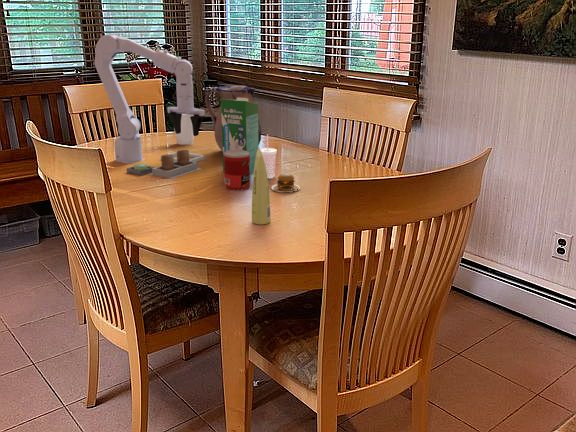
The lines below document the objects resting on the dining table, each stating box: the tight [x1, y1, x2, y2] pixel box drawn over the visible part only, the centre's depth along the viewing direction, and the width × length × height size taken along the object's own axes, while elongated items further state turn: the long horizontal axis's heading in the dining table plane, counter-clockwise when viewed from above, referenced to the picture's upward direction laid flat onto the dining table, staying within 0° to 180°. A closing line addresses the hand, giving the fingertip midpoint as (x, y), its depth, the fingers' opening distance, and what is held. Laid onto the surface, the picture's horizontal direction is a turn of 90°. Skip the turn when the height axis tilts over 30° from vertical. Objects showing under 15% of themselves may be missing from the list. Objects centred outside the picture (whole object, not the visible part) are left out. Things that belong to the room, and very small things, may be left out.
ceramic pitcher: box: [204, 85, 262, 152], centre depth 217 cm, size 18×21×25 cm
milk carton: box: [220, 98, 260, 175], centre depth 192 cm, size 9×9×25 cm
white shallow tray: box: [170, 151, 207, 163], centre depth 208 cm, size 13×10×2 cm
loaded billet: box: [160, 153, 175, 171], centre depth 189 cm, size 4×4×6 cm
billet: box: [176, 149, 190, 166], centre depth 195 cm, size 4×4×6 cm
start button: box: [133, 163, 149, 171], centre depth 191 cm, size 4×4×3 cm
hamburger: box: [270, 172, 301, 193], centre depth 178 cm, size 12×12×6 cm
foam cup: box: [173, 112, 195, 146], centre depth 233 cm, size 10×9×13 cm
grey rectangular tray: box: [149, 161, 202, 180], centre depth 193 cm, size 10×15×3 cm, turn 147°
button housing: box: [126, 165, 156, 176], centre depth 192 cm, size 6×6×2 cm
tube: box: [251, 146, 271, 226], centre depth 148 cm, size 6×5×20 cm
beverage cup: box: [260, 134, 278, 179], centre depth 189 cm, size 6×6×14 cm
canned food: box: [223, 150, 251, 191], centre depth 178 cm, size 8×8×11 cm
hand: (187, 134), depth 206 cm, fingers open, 7 cm apart
